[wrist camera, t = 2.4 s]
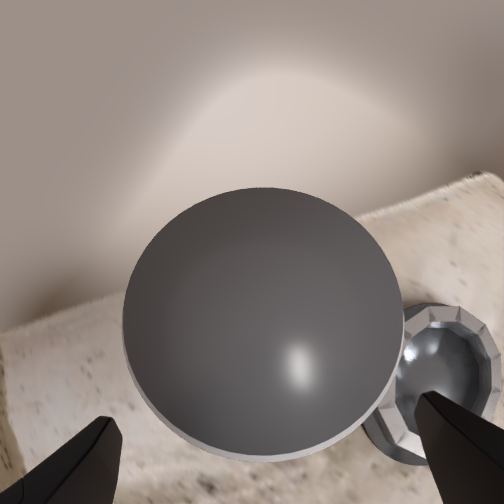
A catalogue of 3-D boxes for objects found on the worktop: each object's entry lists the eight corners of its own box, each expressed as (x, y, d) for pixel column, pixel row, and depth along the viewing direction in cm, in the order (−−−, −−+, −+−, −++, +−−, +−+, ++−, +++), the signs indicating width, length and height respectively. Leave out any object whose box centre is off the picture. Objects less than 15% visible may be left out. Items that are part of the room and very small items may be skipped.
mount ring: (450, 484, 12) (464, 488, 11) (322, 421, 16) (328, 423, 14) (508, 346, 16) (522, 341, 15) (403, 276, 20) (413, 265, 18)
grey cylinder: (274, 436, 15) (304, 520, 3) (199, 384, 17) (64, 332, 5) (326, 361, 17) (448, 265, 5) (252, 314, 19) (232, 146, 7)
